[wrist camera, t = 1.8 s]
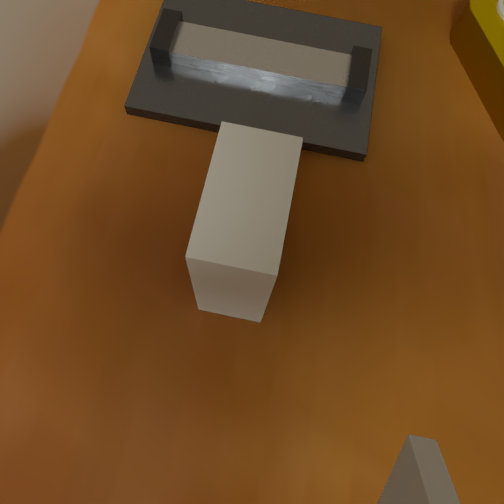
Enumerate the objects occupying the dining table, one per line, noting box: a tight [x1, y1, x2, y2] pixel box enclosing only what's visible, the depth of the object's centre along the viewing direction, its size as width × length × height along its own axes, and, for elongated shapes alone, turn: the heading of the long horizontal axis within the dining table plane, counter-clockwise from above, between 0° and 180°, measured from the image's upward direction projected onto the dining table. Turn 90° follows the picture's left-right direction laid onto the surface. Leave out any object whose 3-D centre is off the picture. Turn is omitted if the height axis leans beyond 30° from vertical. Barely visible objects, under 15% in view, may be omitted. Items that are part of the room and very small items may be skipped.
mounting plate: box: [125, 0, 382, 161], centre depth 38 cm, size 20×14×3 cm
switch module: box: [185, 121, 303, 323], centre depth 28 cm, size 9×4×11 cm, turn 169°
